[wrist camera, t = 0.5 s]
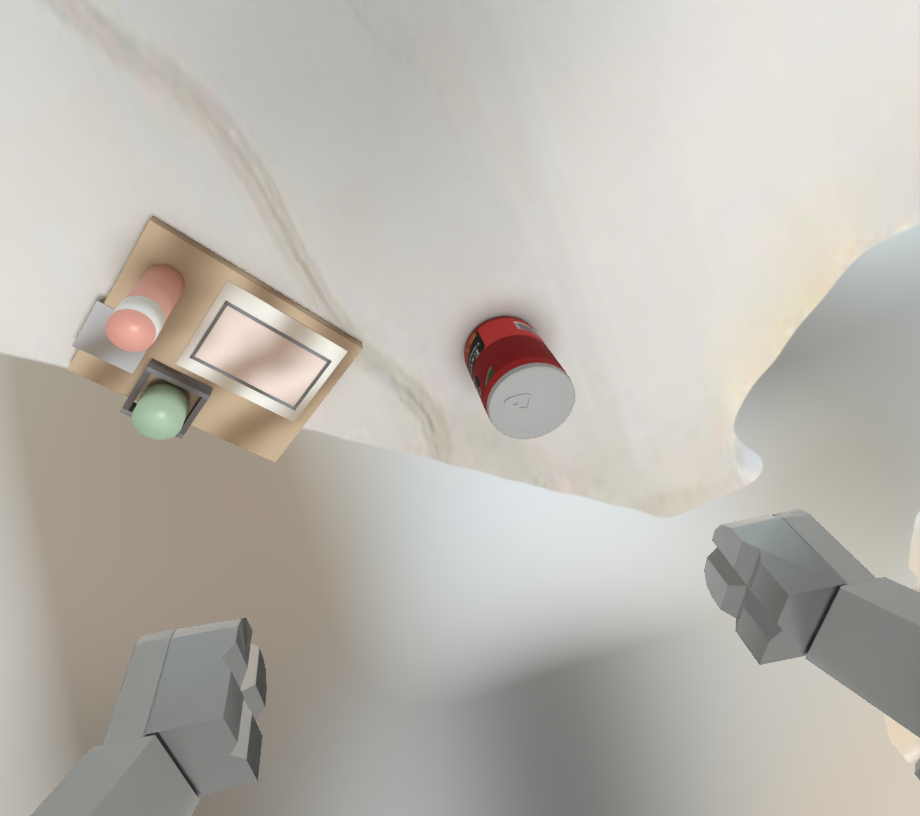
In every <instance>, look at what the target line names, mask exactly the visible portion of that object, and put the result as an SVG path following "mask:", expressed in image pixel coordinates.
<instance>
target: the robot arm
mask: <svg viewBox="0 0 920 816" xmlns="http://www.w3.org/2000/svg"><path fill="white" fill-rule="evenodd" d="M712 541H713V542H714V543H715V544H716V546H717V548H716V549H715V550H714V551H713V552H712V553H711V554H710V555H709V556H708V557H707V561H706V565H705V570H704V571H705V577H706V583H707V586H708V589H709V591H710V593H711V596H712V597H713V599H714V600H715V602H716V603H717V605H718V606H719V608H720V609H721V610H723V611H724V612H726V613H728V614H730V615H731V616H733V617H735V618H736V632H737V634H738V635H739V636H740V638H741V639H742V641H743V642H744V643H745V645H746V646H747V648H748V649H749V651H750V652H751V653H752V655H753V656H754V658H755V659H756V660H757V661H758V663H759V664H760V665H761V664H766V663H771V662H776V661H781V660H786V659H791V658H796V657H801V656H806V655H807V656H806V658H805V659H807V660H808V661H810V662H811V663H813V664H814V665H816V666H817V667H818V668H820V669H821V670H823V671H824V672H826V673H827V674H829V675H830V676H832V677H833V678H834V679H836V680H837V681H839V682H840V683H842V684H843V685H844V686H846V687H847V688H849V689H850V690H852V691H853V692H855V693H856V694H858V695H859V696H860V697H862V698H863V699H865V700H866V701H868V702H869V703H871V704H872V705H873V706H875V707H876V708H878V709H879V710H881V711H882V712H883V713H885V714H886V715H888V716H889V717H891V718H892V719H894V720H895V721H896V722H898V723H899V724H901V725H902V726H904V727H905V728H907V729H908V730H909V731H911V732H912V733H914V734H915V735H917V736H918V737H920V593H919V592H917V591H914V590H912V589H910V588H908V587H906V586H903V585H901V584H899V583H897V582H894V581H892V580H890V579H888V578H886V577H882V578H875V577H874V576H873V575H872V574H871V573H870V572H869V571H868V570H867V569H866V568H865V567H864V566H863V565H862V564H861V563H860V562H859V561H858V560H857V559H856V558H854V557H853V555H852V554H851V553H849V552H848V551H847V550H846V549H845V548H844V547H843V546H842V545H841V544H840V543H839V542H838V541H837V540H836V539H835V538H834V537H833V536H832V535H831V534H830V533H829V532H828V531H827V530H825V529H824V528H823V527H822V526H821V525H820V524H819V523H818V522H817V521H816V520H815V519H814V518H813V517H812V516H811V515H810V514H808V513H806V512H804V511H802V510H794V511H789V512H783V513H778V514H773V515H765V516H760V517H755V518H750V519H746V520H741V521H736V522H731V523H727V524H722V525H720V526H719V527H718V528H717V529H716V530H715V532H714V536H713V539H712ZM251 638H252V629H251V626H250V624H249V622H248V620H247V618H240V619H234V620H228V621H222V622H217V623H211V624H205V625H198V626H193V627H187V628H181V629H175V630H170V631H164V632H159V633H153V634H148V635H143V636H142V637H141V639H140V640H139V642H138V643H137V644H136V646H135V647H134V650H133V653H132V656H131V659H130V663H129V666H128V669H127V672H126V675H125V678H124V681H123V684H122V687H121V690H120V693H119V696H118V699H117V702H116V705H115V708H114V711H113V714H112V717H111V720H110V723H109V726H108V729H107V732H106V735H105V738H104V741H103V744H102V746H99V747H95V748H91V749H90V750H89V751H88V752H87V753H86V755H85V756H84V757H83V758H82V759H81V760H80V761H79V762H78V763H77V765H76V766H75V767H74V768H73V769H72V770H71V771H70V772H69V773H68V775H67V776H66V777H65V778H64V779H63V780H62V781H61V782H60V784H59V785H58V786H57V787H56V788H55V789H54V790H53V792H51V794H50V795H49V796H48V797H47V798H46V799H45V800H44V801H43V802H42V804H41V805H40V806H39V807H38V808H37V809H36V810H35V811H34V813H33V814H32V815H31V816H191V814H192V813H193V811H194V809H195V808H196V806H197V804H198V802H199V798H198V797H200V796H204V795H208V794H211V793H215V792H219V791H223V790H226V789H231V788H234V787H238V786H242V785H246V784H250V783H254V782H257V781H258V775H259V764H260V755H261V746H262V734H261V731H260V729H259V727H258V725H257V723H256V719H257V718H258V717H259V715H260V714H261V712H262V711H263V710H264V708H265V703H266V692H267V683H266V668H265V664H264V658H263V655H262V653H261V650H260V648H259V647H258V646H256V645H254V644H251ZM915 775H916V776H917V777H918V778H919V780H920V759H919V760H918V761H917V763H916V765H915Z"/></svg>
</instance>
